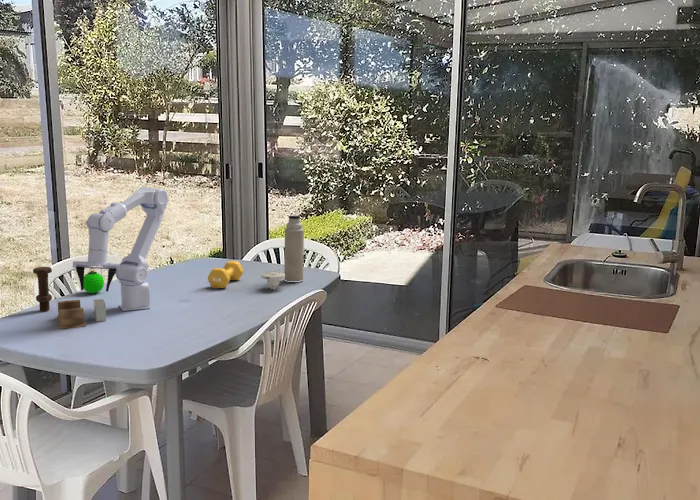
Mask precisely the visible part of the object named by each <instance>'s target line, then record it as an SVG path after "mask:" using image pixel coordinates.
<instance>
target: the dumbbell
mask: <svg viewBox="0 0 700 500" xmlns="http://www.w3.org/2000/svg"><path fill="white" fill-rule="evenodd" d="M244 272H245V269H244V268H243V266H242V264H241V263H240V261H237V260H229V261H227V262H226V263H225V264H224V266H223V268H222V267H213V269H212V270H210V272H209V274H208V277H207V280H208V283H209V284H210V286H211V288H213V289H215V288H224V289H225V288H227V287H228V285H229V283H230V282H231V281H230V280H237V281H239V280H240V279H241V278H242V276H243V275H244Z"/></svg>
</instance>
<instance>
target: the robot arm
mask: <svg viewBox="0 0 700 500" xmlns="http://www.w3.org/2000/svg"><path fill="white" fill-rule="evenodd" d="M169 202H170V201H169V196H168V193H167V191H166V189H164V188H156V187H155V188H153V187H146V186H142V187H140V188H138V189H136V190H135V193H133V194H131V195H130V196H129V197H128V198H126V199H124V200H123V201H122V202H115V201H114V202H110V205H109V206H107V207H106V208H105V207H104V208H103V209H100V211H99V212H98V213H97V212H94V213H91V214H90V215H89V216H88V218H87V220H86V222H85V223H86V227H87V229H88V235H89V239H88V240H89V241H88V252H87V261H77V260H75V261H74V260H73V261H72V268H74V269H75V271H76V274H77V275H78V276H77V277H78V280H79V285H80V291H85V290H84V276H85V270H86V269H91V268H93V269H92V270H95V269H96V270H107V282H106V288H105V292H109V289H110V286H111V283H112V281H113V278H114V276H115V277H116V279H117V280H118V281H119V283H120V294H121V295H120V296H121V298H120V299H121V303H119V304H118V307H119V308H120V309H121V311H122V312H125V311H135V310H145V309H151V300H150V299H151V298H150V297H151V295H150V285H149V284H150V283H149V282H147V281H146V280H147V277H148V270H149V267H150V266H149V264H148V263H147V261H146V259H147V256H148V254H149V252H150V250H151V247H152V245H153V242H154V240H155V237H156V235H157V232H158V231H159V229H160V225H161V223H162V221H163V218H164V214H165V210H166V208H167V206H168V203H169ZM138 206H140V207H141V209H142V211H143V212H144V213H145V214H146V217H145V219H144V221H143V224H142V226H141V228H140V230H139V233H138V235H137V238H136V240H135V242H134V244H133V247H132V249H131V252H130V254H128V255H127V256H124V258H122V260H121V262H119V263H111V262H107V258H108V257H107V255H108V243H109V233H110V231H112V229H113V227H114V225H115V224H116V223H118V222H119V221H120V220H123V219H124V218H125V217H127V212H129V211H131V210H133V209H135V208H136V207H138Z"/></svg>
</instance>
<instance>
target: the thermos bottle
mask: <svg viewBox="0 0 700 500" xmlns="http://www.w3.org/2000/svg"><path fill="white" fill-rule="evenodd" d="M285 227H286V228H284V264H283V265H284V267H283V268H284V270H283V271H284V272H283V273H284V274H285V278H284V279H285V280H287V281H300V280H303V281H304V245H305V244H304V243H305V242H304V241H305V238H304V237H305V234H304V233H305V229H304V228H303V223H302V222H301V216H300V215H295V214H294V215H288V221H287V223H286V226H285Z"/></svg>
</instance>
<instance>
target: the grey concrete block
mask: <svg viewBox="0 0 700 500" xmlns="http://www.w3.org/2000/svg"><path fill="white" fill-rule="evenodd" d="M106 307H107V305H106V301H105V300H104V299H103V298H101V299H100V298H99V299H93V314H94V319H95V321H96V322H97V323H99V322H107V308H106Z"/></svg>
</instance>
